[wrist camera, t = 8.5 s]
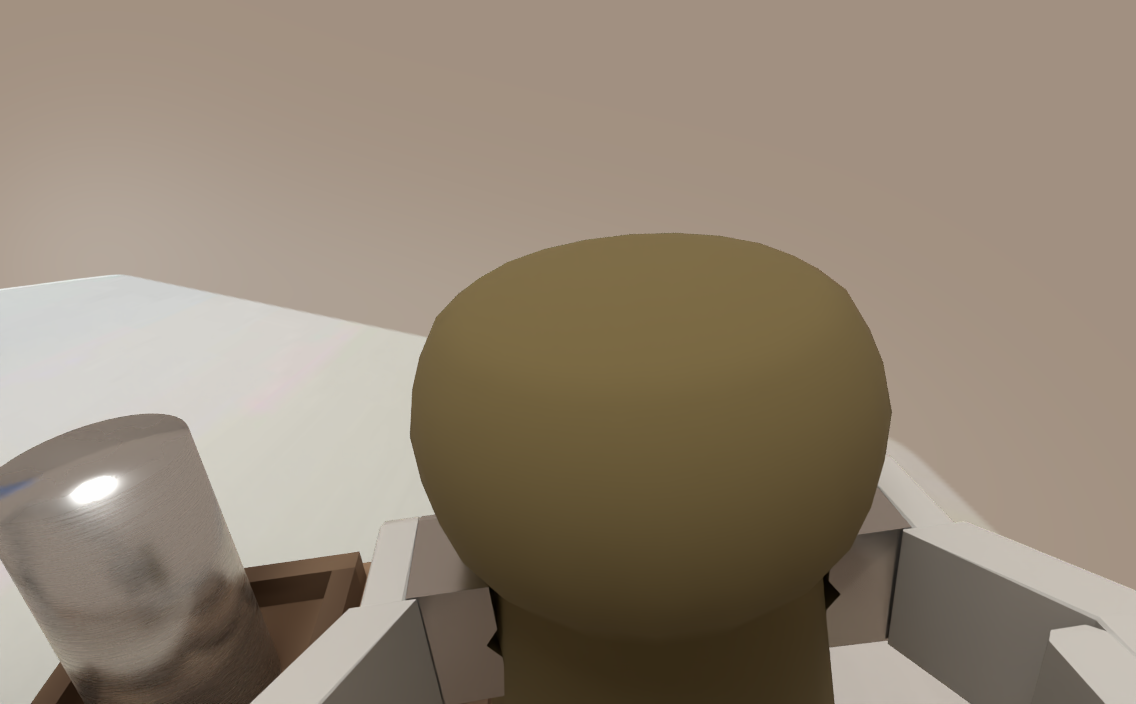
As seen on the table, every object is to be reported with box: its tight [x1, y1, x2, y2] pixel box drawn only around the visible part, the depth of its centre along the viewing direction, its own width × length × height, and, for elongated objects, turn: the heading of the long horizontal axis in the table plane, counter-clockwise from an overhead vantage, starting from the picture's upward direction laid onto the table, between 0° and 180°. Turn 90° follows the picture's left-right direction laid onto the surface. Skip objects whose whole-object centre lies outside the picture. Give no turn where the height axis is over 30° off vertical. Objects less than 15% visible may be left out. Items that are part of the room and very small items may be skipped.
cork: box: [410, 233, 892, 704], centre depth 10 cm, size 6×6×11 cm
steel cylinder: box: [0, 414, 281, 704], centre depth 24 cm, size 6×6×11 cm
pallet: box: [31, 552, 492, 704], centre depth 27 cm, size 27×13×3 cm, turn 96°
